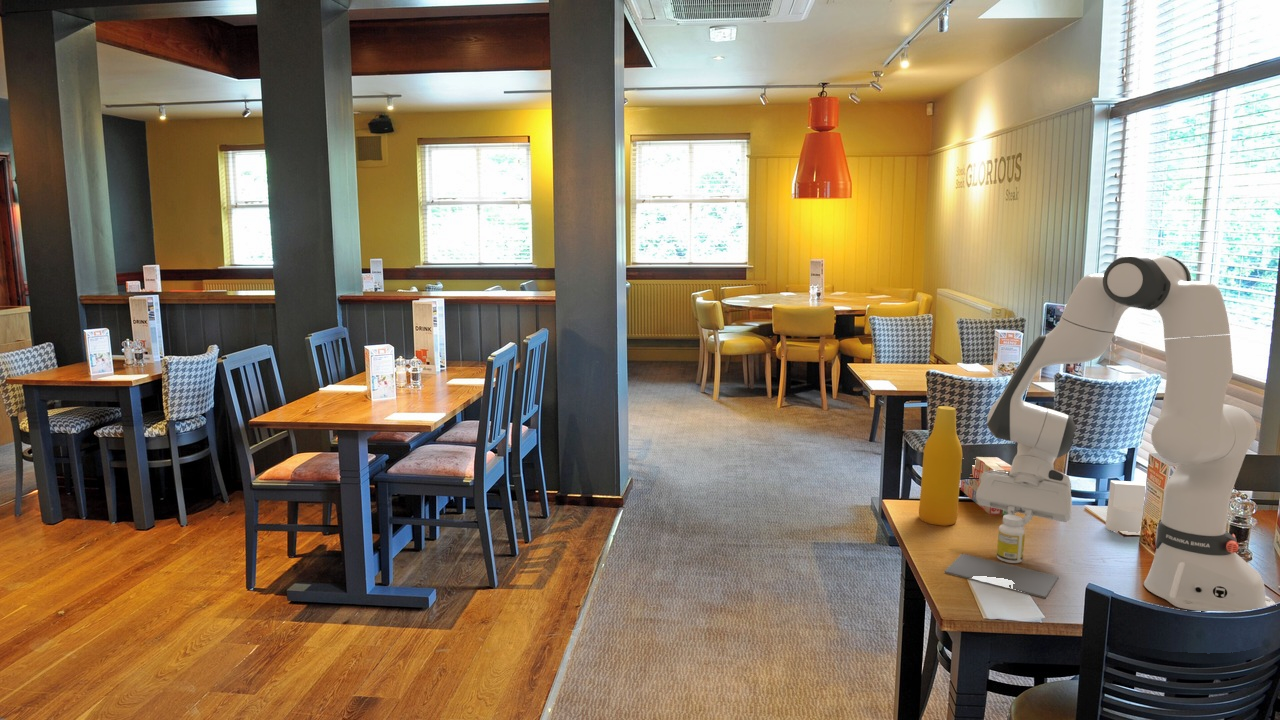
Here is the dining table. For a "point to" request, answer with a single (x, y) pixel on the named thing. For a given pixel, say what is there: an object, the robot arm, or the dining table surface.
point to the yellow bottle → (941, 471)
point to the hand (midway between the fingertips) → (1015, 527)
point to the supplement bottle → (1011, 539)
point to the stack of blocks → (977, 470)
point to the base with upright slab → (1125, 506)
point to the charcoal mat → (1004, 574)
